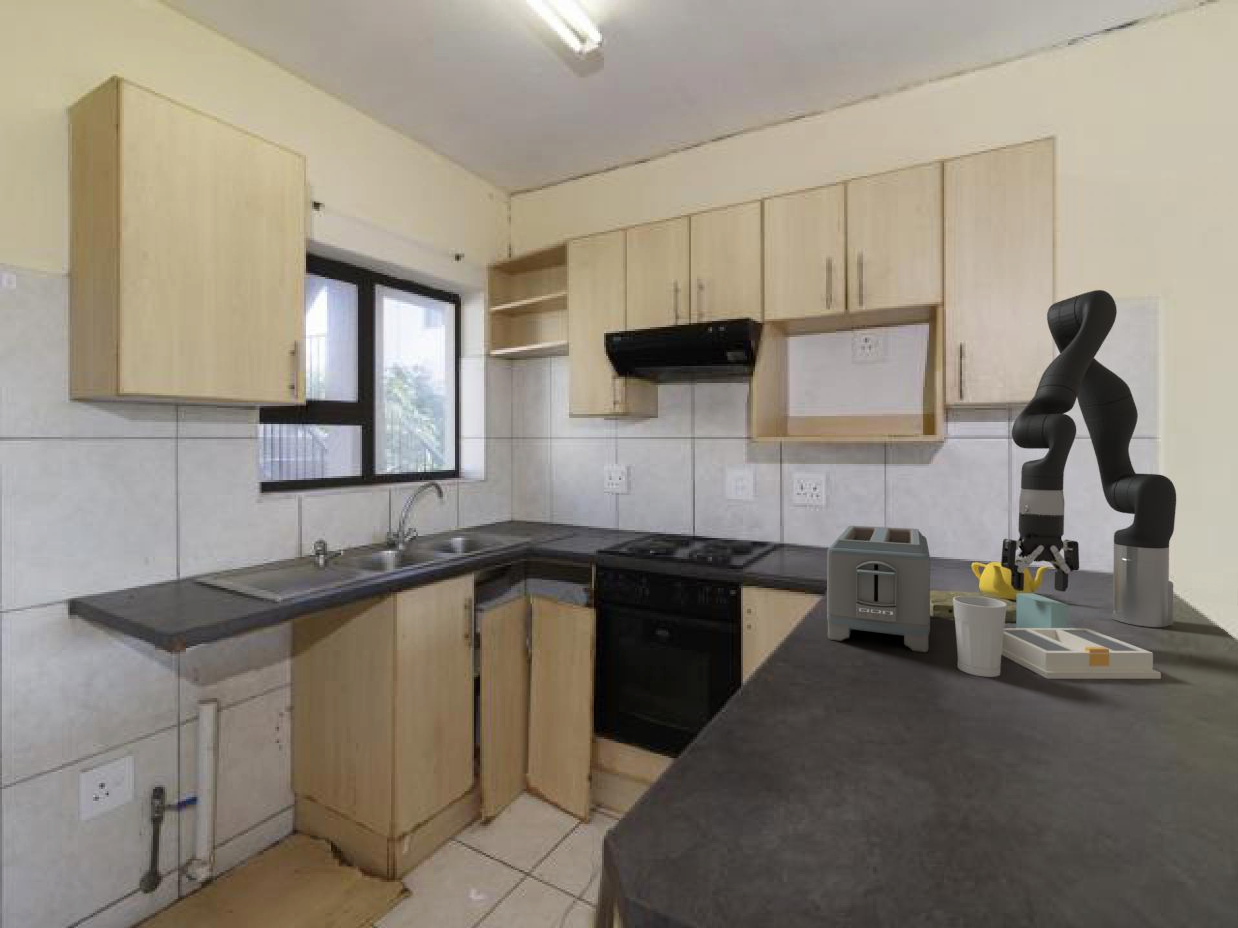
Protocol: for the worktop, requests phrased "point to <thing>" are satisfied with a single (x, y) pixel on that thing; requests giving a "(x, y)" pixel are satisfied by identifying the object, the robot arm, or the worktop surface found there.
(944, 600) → the decorative tile
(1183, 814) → the worktop surface
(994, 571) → the teapot
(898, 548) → the toaster
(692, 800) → the worktop surface
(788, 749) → the worktop surface
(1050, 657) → the tray
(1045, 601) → the panel
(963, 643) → the cup
